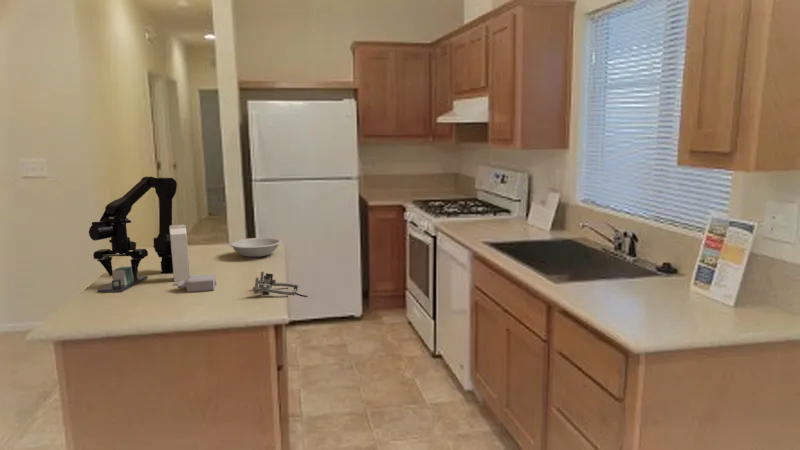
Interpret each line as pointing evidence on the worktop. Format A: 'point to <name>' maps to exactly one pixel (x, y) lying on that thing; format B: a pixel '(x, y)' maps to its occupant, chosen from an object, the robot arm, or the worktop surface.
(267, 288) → the bike brake
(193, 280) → the charger
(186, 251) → the milk
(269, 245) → the soup bowl
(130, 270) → the block
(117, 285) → the shaft stand
